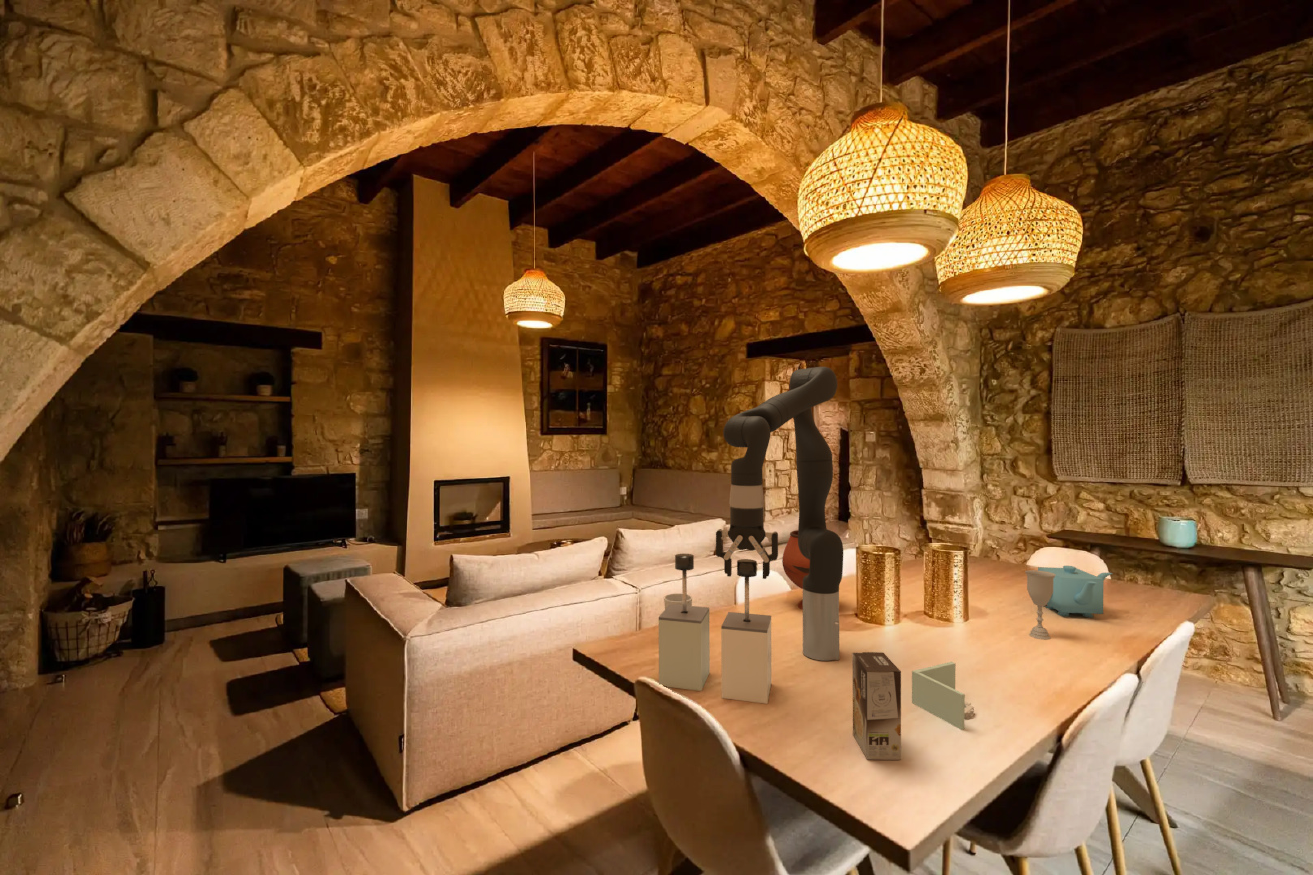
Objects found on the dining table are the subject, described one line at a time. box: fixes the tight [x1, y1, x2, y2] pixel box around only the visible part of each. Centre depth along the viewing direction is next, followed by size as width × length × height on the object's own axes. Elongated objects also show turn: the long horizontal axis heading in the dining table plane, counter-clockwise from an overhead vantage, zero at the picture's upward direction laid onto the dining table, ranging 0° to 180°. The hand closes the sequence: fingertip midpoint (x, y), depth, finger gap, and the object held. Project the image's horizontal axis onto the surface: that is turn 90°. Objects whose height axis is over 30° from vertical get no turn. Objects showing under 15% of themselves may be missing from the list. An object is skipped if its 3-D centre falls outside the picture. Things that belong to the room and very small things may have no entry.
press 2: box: [720, 611, 772, 705], centre depth 129 cm, size 10×10×16 cm
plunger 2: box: [736, 558, 758, 622], centre depth 129 cm, size 8×8×19 cm
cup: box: [663, 592, 693, 610], centre depth 160 cm, size 8×8×12 cm
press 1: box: [658, 604, 711, 692], centre depth 135 cm, size 10×10×16 cm
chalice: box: [1024, 569, 1056, 641], centre depth 161 cm, size 7×7×18 cm
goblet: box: [781, 529, 810, 611], centre depth 188 cm, size 19×19×25 cm
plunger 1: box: [674, 553, 695, 614], centre depth 135 cm, size 8×8×19 cm
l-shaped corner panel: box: [911, 661, 975, 731], centre depth 120 cm, size 12×12×8 cm
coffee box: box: [851, 651, 902, 761], centre depth 106 cm, size 9×6×16 cm
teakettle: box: [1037, 565, 1113, 618], centre depth 182 cm, size 19×19×15 cm
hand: (746, 576), depth 129 cm, fingers open, 7 cm apart
